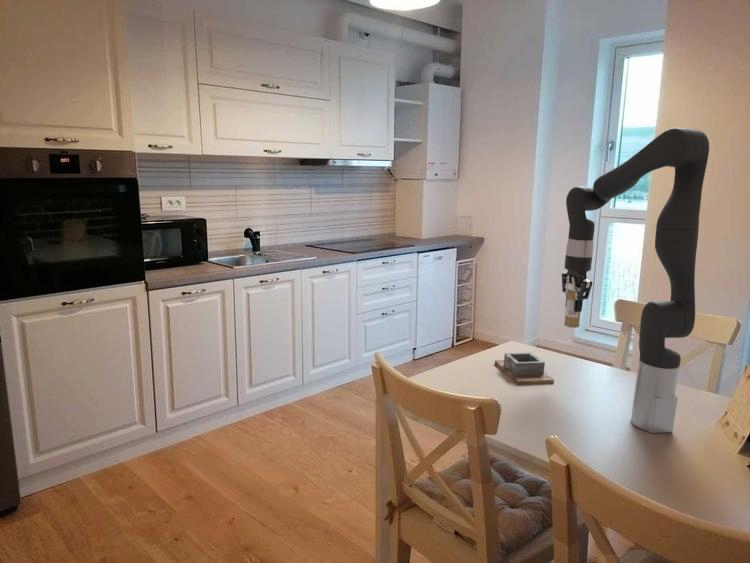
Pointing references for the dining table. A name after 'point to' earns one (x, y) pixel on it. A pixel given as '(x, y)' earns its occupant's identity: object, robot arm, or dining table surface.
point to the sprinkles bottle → (571, 309)
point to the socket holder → (524, 368)
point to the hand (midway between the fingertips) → (573, 309)
